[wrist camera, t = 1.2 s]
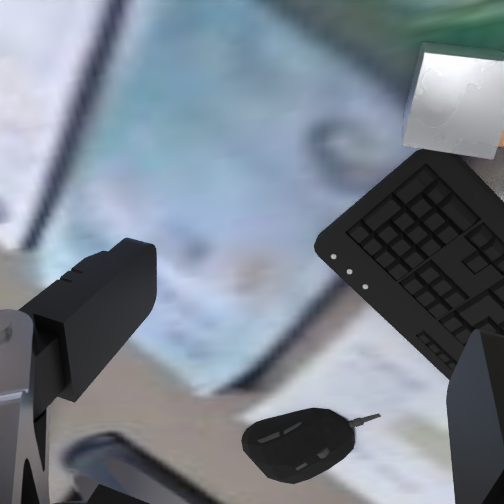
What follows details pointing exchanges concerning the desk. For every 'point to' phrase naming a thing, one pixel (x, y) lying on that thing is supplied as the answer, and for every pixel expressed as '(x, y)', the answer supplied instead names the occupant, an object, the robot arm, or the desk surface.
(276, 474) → the gaming mouse
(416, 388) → the desk surface
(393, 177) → the keyboard
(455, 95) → the gray metallic block
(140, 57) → the desk surface
